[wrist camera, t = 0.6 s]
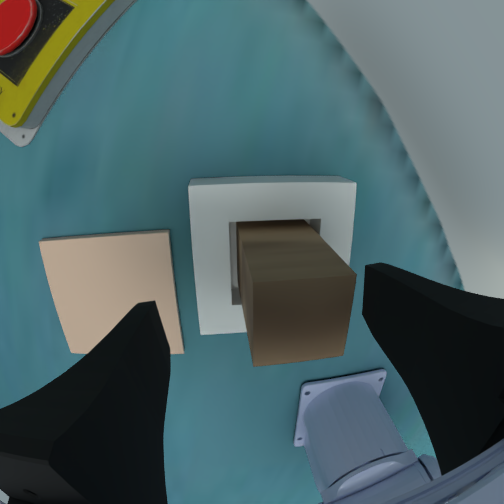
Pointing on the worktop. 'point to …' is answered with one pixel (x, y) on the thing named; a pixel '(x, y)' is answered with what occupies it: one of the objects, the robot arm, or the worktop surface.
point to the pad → (110, 283)
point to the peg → (292, 292)
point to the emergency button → (45, 55)
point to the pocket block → (256, 209)
